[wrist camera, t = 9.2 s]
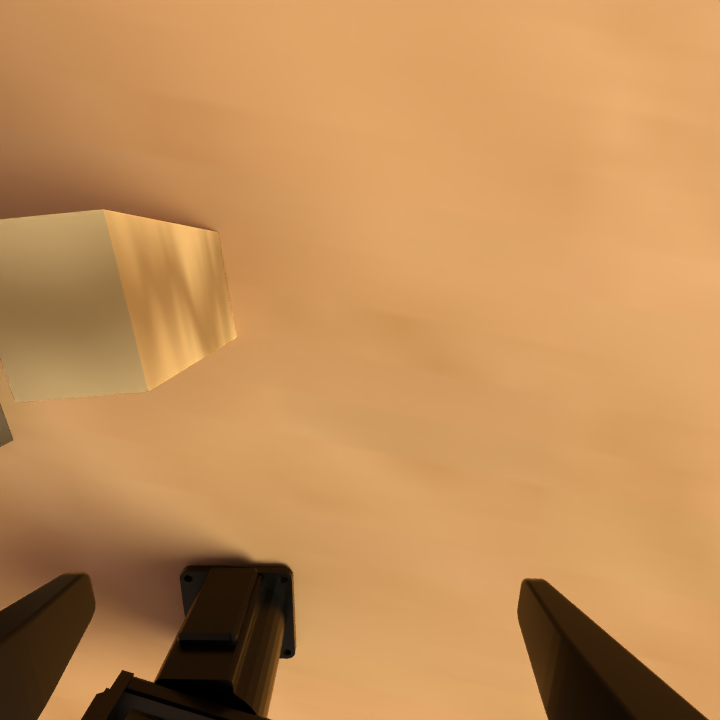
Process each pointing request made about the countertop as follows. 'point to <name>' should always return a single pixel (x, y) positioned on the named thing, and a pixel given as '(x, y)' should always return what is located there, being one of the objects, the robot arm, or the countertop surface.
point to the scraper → (106, 304)
